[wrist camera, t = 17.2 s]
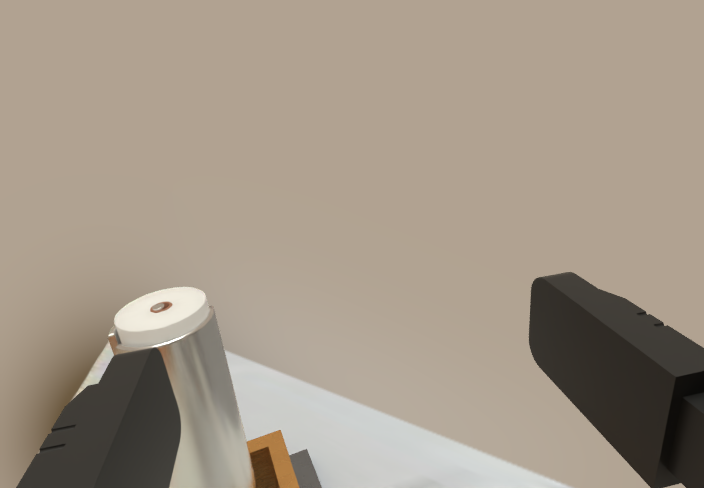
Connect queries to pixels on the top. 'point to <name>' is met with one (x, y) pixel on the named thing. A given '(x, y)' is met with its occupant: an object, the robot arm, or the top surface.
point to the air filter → (192, 384)
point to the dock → (280, 464)
